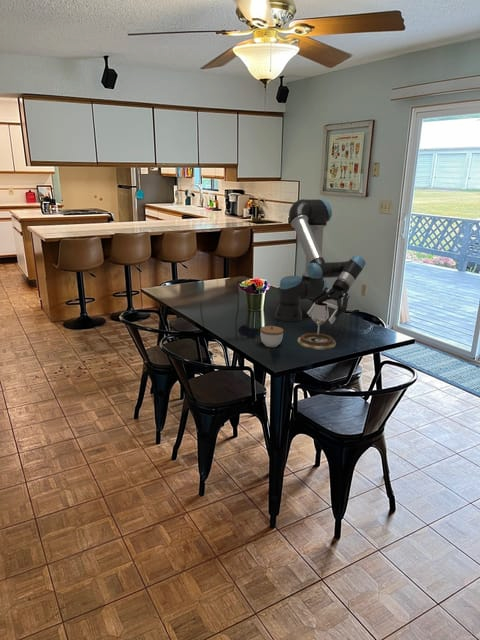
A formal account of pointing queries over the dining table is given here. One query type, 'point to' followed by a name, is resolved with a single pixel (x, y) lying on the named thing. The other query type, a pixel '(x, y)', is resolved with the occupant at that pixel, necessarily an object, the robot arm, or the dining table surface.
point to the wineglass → (319, 317)
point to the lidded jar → (271, 335)
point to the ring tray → (306, 342)
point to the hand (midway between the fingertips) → (319, 318)
